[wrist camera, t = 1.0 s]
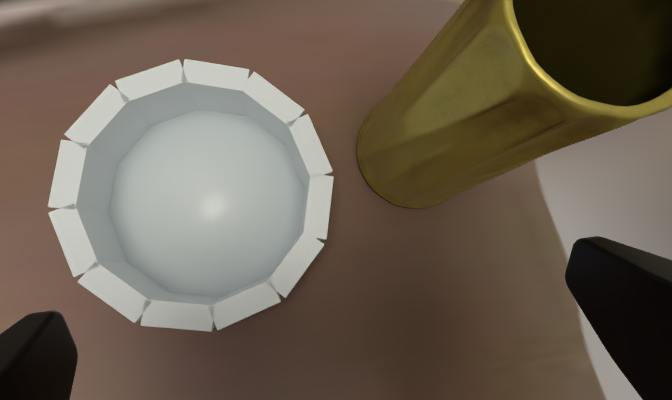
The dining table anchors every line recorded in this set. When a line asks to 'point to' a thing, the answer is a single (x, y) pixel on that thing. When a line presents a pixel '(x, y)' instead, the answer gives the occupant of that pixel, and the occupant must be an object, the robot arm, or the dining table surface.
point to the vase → (515, 91)
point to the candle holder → (191, 195)
